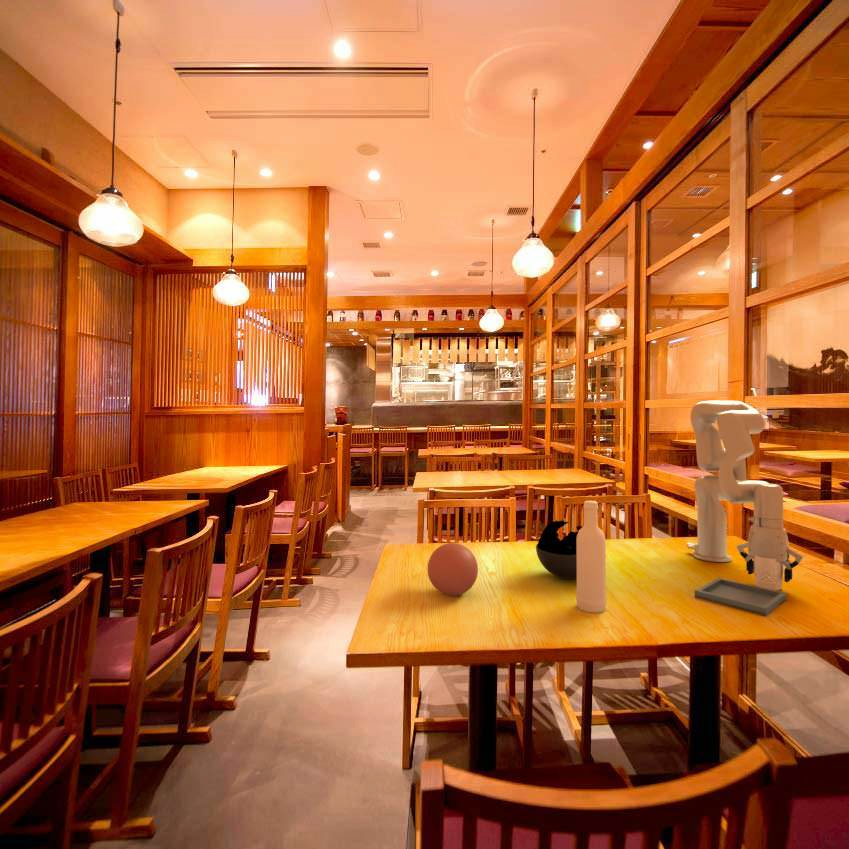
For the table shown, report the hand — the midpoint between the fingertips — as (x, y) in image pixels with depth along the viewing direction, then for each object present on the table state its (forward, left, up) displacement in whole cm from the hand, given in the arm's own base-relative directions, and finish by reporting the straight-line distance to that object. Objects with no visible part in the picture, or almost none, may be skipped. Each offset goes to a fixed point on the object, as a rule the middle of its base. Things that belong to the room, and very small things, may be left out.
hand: (768, 577), depth 150 cm
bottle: (-26, -58, -3) cm, 64 cm away
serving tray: (-2, -18, -3) cm, 18 cm away
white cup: (0, 0, -3) cm, 3 cm away
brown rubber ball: (-61, -80, -3) cm, 101 cm away
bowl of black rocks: (-46, -41, -3) cm, 62 cm away
